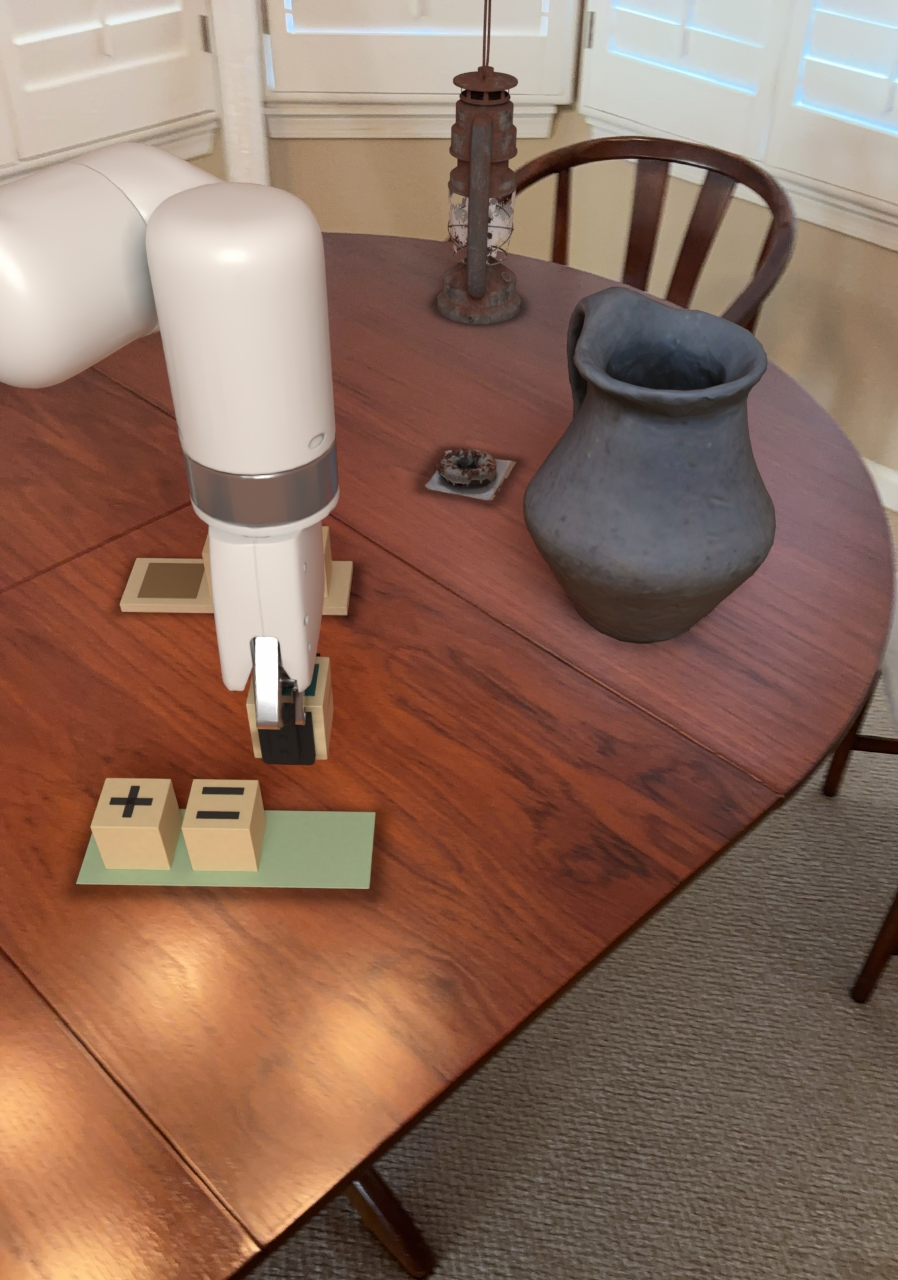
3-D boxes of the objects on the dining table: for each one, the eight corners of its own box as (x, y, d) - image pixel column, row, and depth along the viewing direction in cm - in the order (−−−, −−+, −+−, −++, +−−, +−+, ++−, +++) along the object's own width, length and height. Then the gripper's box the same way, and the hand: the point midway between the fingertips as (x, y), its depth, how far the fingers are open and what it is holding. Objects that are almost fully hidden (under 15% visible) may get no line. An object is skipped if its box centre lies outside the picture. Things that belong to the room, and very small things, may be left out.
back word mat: (121, 613, 93) (107, 559, 89) (138, 566, 98) (125, 514, 94) (347, 616, 93) (343, 563, 89) (353, 570, 98) (349, 517, 94)
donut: (446, 451, 113) (446, 433, 111) (516, 463, 111) (517, 445, 109) (419, 490, 107) (419, 472, 106) (492, 504, 106) (493, 486, 104)
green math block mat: (79, 892, 72) (57, 839, 68) (103, 816, 77) (84, 762, 73) (370, 897, 72) (366, 844, 68) (376, 820, 77) (372, 767, 73)
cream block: (254, 758, 65) (245, 703, 61) (264, 708, 68) (256, 653, 64) (327, 760, 65) (322, 705, 61) (333, 710, 68) (329, 655, 64)
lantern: (430, 332, 132) (429, -15, 106) (442, 280, 143) (444, -46, 117) (517, 336, 132) (538, -11, 106) (523, 284, 143) (542, -43, 117)
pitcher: (610, 714, 85) (658, 424, 67) (465, 577, 97) (472, 301, 79) (796, 630, 92) (885, 349, 74) (639, 513, 105) (682, 248, 86)
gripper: (215, 386, 58) (253, 643, 72) (153, 568, 47) (212, 832, 61) (350, 390, 58) (363, 646, 72) (321, 572, 47) (343, 835, 61)
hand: (294, 729), depth 66 cm, fingers closed on cream block, 4 cm apart
